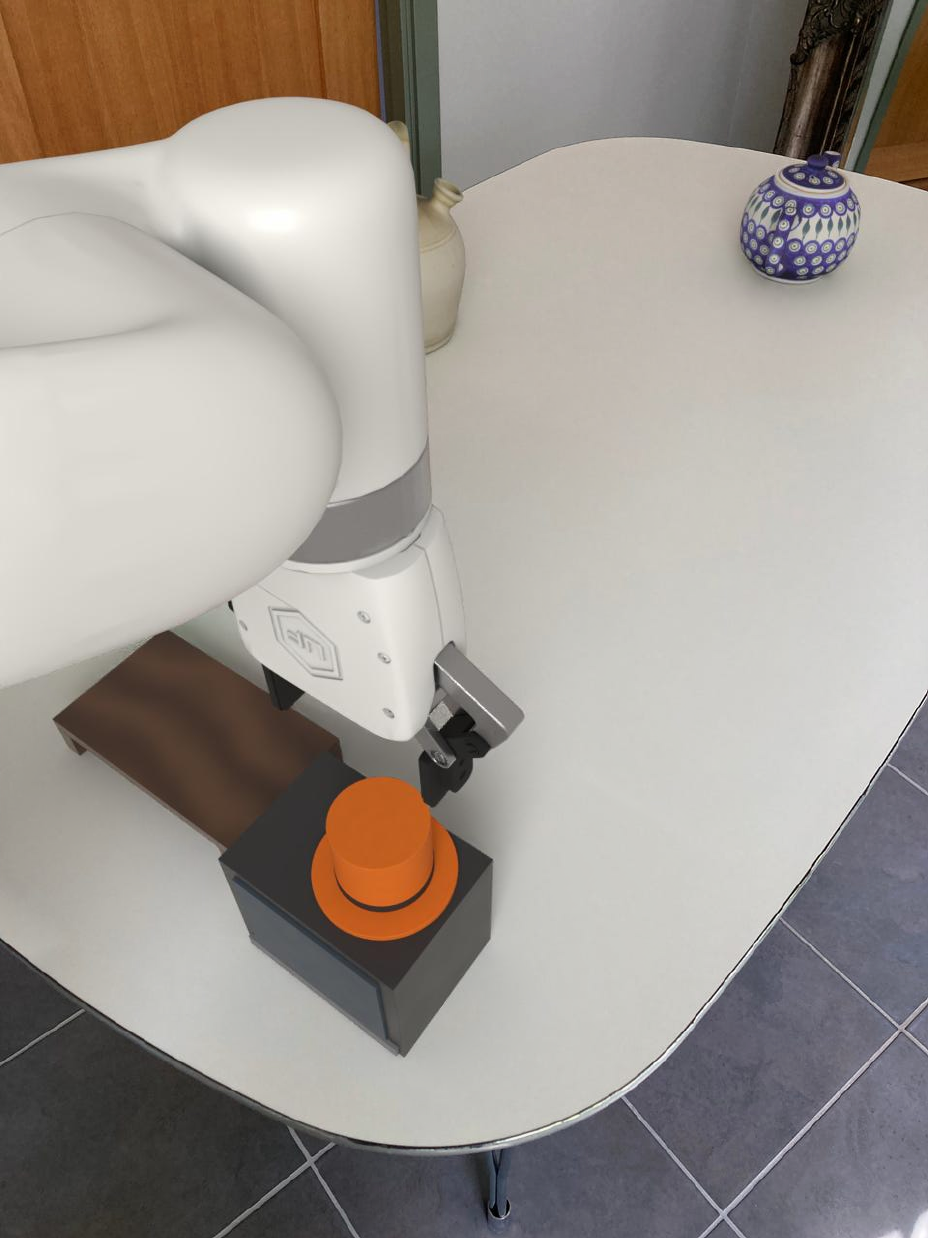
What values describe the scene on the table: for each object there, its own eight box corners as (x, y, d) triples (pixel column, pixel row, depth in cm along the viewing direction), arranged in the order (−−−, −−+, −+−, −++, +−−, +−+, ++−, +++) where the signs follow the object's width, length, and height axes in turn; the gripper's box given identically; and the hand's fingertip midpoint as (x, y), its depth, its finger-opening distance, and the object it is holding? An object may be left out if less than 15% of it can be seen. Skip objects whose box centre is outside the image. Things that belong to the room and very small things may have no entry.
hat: (397, 971, 55) (390, 927, 50) (281, 886, 58) (265, 837, 54) (487, 855, 60) (488, 805, 55) (375, 782, 63) (367, 730, 59)
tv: (401, 1062, 63) (389, 995, 54) (247, 941, 68) (213, 862, 59) (490, 938, 68) (493, 859, 59) (341, 836, 74) (323, 749, 65)
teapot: (811, 324, 121) (845, 209, 110) (701, 291, 127) (723, 179, 116) (869, 242, 135) (904, 133, 124) (768, 216, 141) (793, 109, 130)
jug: (474, 302, 125) (474, 98, 107) (456, 370, 115) (453, 157, 96) (360, 294, 127) (340, 92, 108) (332, 360, 117) (305, 149, 98)
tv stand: (240, 876, 72) (230, 851, 69) (67, 746, 79) (51, 718, 76) (344, 766, 78) (339, 738, 75) (175, 655, 86) (164, 626, 83)
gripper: (96, 443, 37) (196, 705, 50) (458, 642, 30) (465, 885, 43) (235, 352, 41) (293, 616, 54) (582, 509, 34) (554, 769, 47)
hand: (369, 735), depth 48 cm, fingers open, 9 cm apart
